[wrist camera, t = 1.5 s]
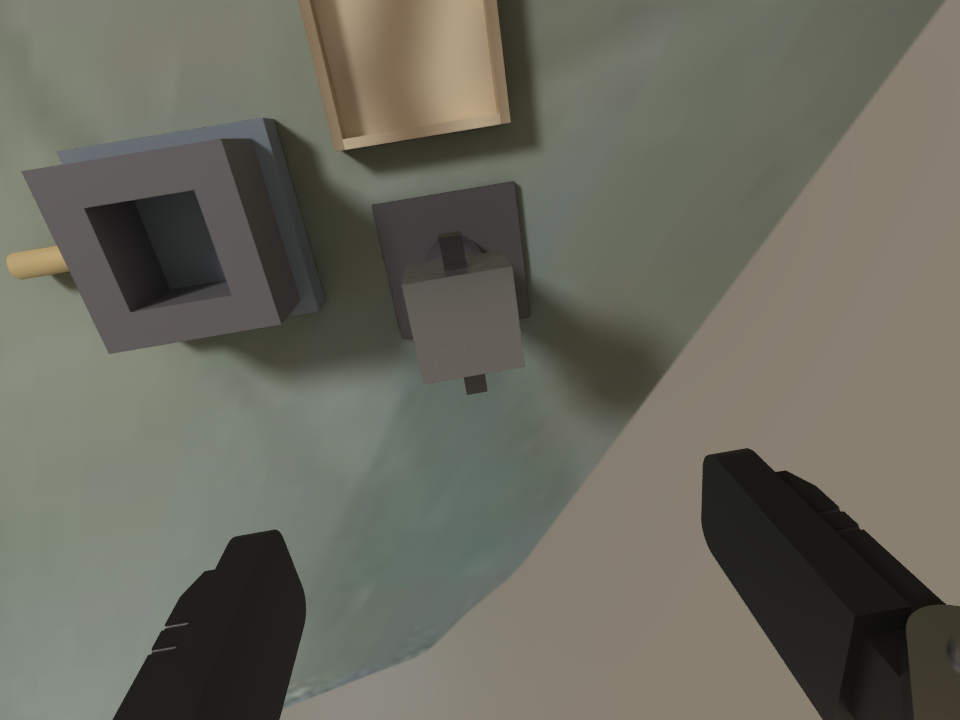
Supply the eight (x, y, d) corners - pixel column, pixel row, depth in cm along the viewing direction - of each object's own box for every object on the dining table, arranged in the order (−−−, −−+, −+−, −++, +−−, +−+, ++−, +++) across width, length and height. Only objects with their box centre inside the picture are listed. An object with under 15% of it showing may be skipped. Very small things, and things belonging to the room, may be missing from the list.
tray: (481, -86, 24) (484, -102, 23) (506, 123, 28) (510, 122, 26) (291, -55, 24) (280, -69, 23) (341, 150, 28) (335, 151, 26)
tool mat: (513, 181, 29) (514, 181, 29) (529, 314, 32) (530, 317, 32) (372, 204, 29) (371, 205, 29) (402, 336, 32) (401, 338, 32)
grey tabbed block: (482, 198, 29) (507, 231, 19) (498, 313, 32) (528, 394, 22) (407, 211, 29) (394, 250, 19) (430, 324, 32) (429, 411, 22)
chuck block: (274, 119, 27) (232, 114, 22) (325, 301, 31) (302, 337, 26) (-14, 166, 27) (-130, 173, 21) (75, 343, 31) (-3, 388, 25)
